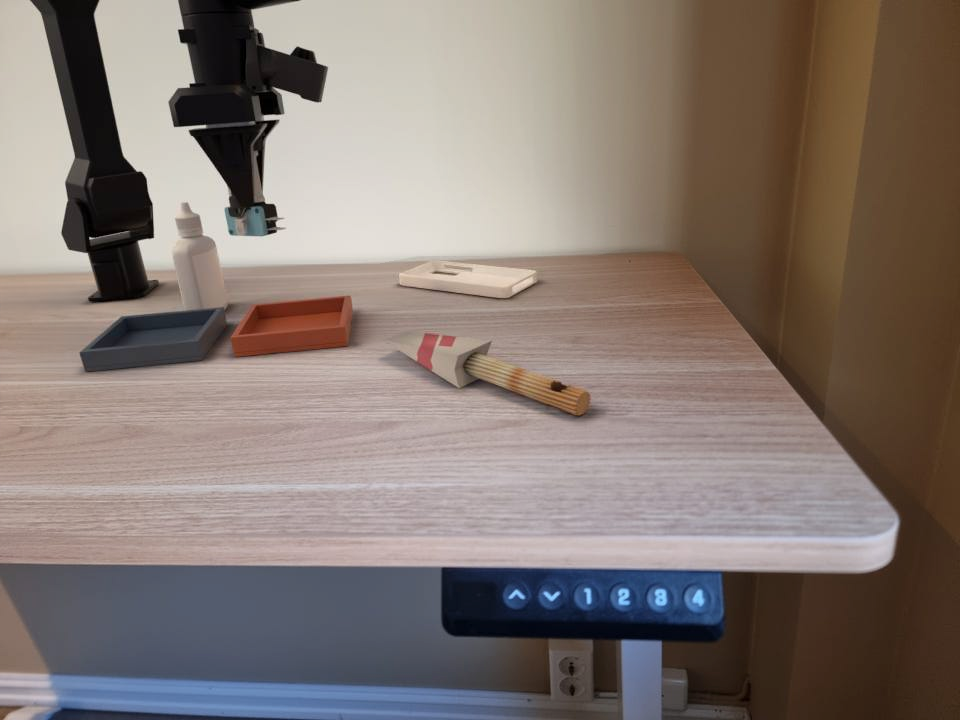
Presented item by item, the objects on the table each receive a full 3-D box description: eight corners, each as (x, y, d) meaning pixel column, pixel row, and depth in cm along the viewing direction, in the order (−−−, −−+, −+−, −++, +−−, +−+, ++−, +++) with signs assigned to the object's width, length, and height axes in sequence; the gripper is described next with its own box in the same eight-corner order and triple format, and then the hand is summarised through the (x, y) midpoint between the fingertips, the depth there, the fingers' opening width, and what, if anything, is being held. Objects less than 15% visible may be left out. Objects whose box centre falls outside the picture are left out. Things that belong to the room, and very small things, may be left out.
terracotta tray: (254, 321, 71) (251, 304, 70) (353, 312, 72) (350, 295, 71) (234, 357, 62) (230, 337, 61) (347, 346, 63) (344, 326, 62)
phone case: (397, 285, 81) (506, 299, 73) (396, 274, 80) (506, 287, 72) (434, 270, 86) (539, 281, 79) (433, 259, 86) (538, 270, 78)
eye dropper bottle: (242, 308, 76) (220, 199, 71) (196, 323, 72) (169, 208, 67) (219, 302, 78) (197, 197, 74) (174, 316, 74) (147, 206, 70)
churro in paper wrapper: (411, 313, 60) (599, 377, 47) (413, 342, 61) (597, 412, 49) (376, 325, 58) (565, 396, 45) (379, 355, 59) (564, 432, 46)
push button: (304, 229, 65) (285, 118, 61) (262, 241, 60) (239, 121, 57) (255, 228, 68) (234, 122, 64) (211, 239, 64) (187, 126, 60)
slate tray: (126, 333, 70) (121, 316, 69) (227, 324, 71) (223, 306, 70) (84, 372, 61) (78, 352, 60) (202, 360, 62) (198, 340, 61)
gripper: (302, -3, 50) (333, 211, 56) (322, 21, 67) (344, 183, 73) (144, 6, 49) (193, 224, 55) (205, 28, 66) (237, 192, 72)
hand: (252, 202), depth 64 cm, fingers closed on push button, 4 cm apart
